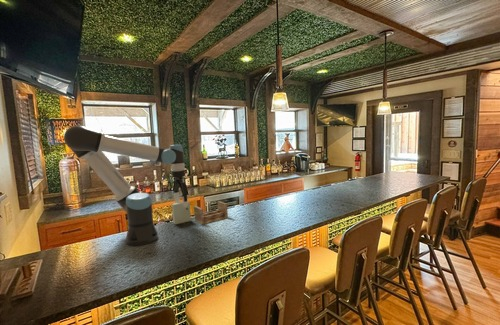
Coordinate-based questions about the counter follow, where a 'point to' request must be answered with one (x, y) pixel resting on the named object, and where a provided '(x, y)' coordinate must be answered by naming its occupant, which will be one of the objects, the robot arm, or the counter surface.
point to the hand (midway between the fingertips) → (181, 204)
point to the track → (211, 214)
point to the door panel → (180, 213)
